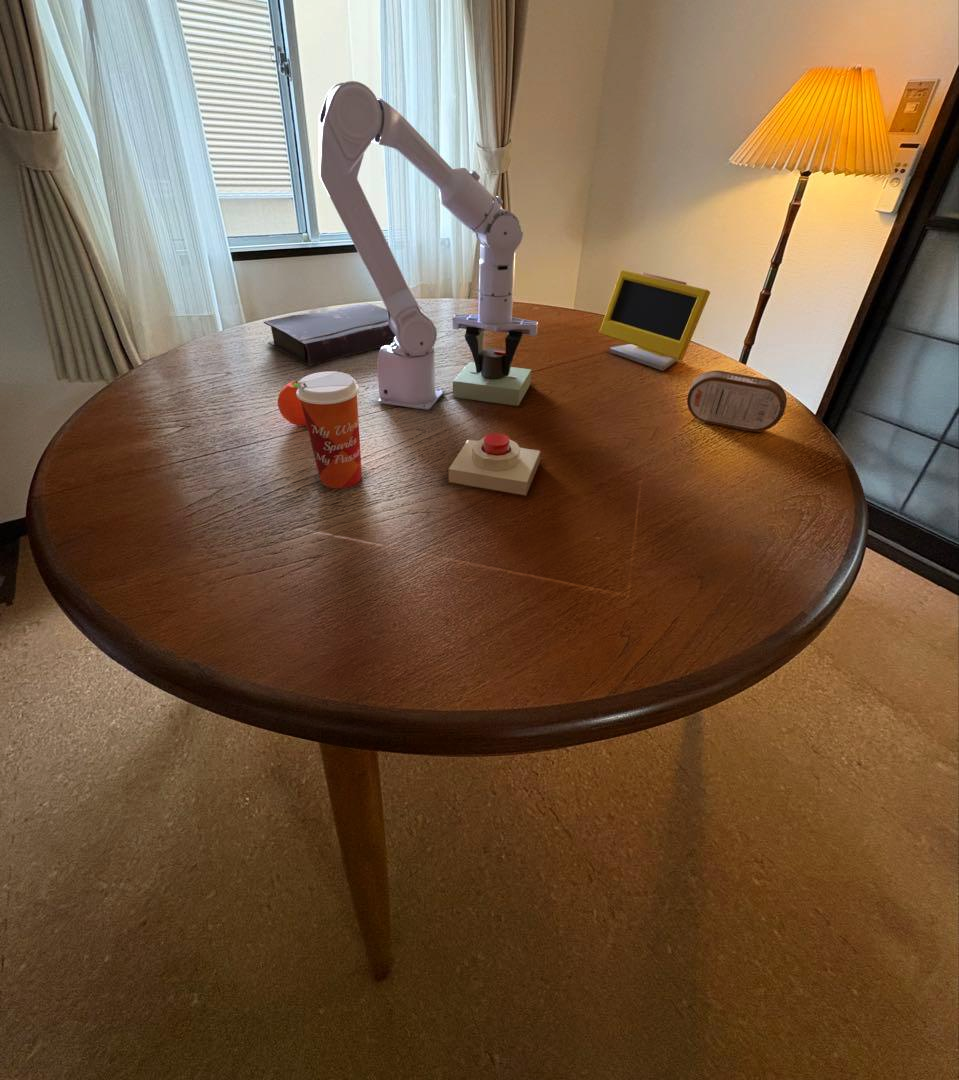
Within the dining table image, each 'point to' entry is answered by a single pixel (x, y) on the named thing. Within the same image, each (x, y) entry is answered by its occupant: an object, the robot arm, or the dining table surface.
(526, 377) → the dial panel
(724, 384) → the tin
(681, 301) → the toy computer monitor
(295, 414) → the clementine
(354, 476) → the paper cup
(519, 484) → the button block
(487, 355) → the dial knob
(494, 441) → the red button
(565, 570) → the dining table surface
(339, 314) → the diary
